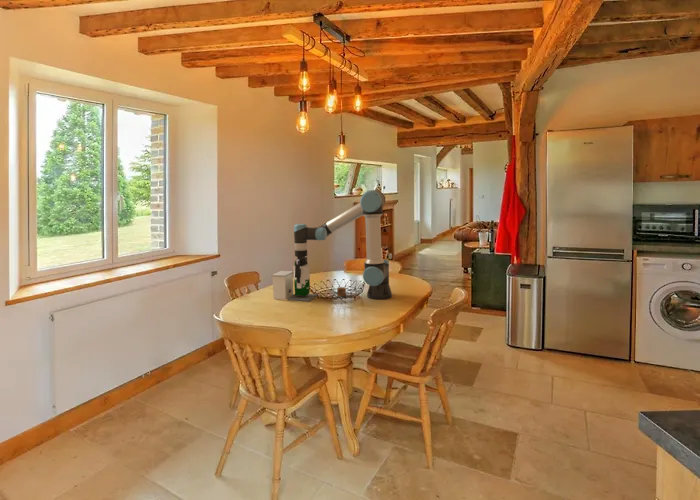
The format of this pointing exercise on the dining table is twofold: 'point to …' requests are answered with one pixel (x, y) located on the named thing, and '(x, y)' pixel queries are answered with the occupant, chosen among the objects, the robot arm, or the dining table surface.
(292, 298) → the pad
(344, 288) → the walnut block
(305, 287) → the soya milk
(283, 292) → the dispenser unit
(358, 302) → the dining table surface
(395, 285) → the dining table surface
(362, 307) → the dining table surface
